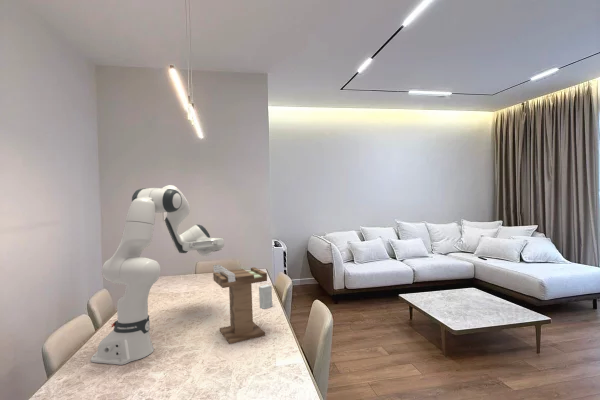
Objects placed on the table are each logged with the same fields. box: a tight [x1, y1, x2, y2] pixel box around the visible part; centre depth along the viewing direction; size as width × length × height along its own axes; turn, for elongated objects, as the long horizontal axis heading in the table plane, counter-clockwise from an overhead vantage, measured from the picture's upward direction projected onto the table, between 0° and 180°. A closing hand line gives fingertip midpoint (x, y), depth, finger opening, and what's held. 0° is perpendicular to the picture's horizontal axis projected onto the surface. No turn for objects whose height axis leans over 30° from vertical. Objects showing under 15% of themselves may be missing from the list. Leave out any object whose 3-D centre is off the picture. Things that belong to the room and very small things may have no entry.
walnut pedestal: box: [212, 266, 268, 345], centre depth 152 cm, size 16×20×28 cm
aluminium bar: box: [212, 264, 235, 282], centre depth 154 cm, size 26×3×3 cm, turn 28°
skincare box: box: [258, 284, 273, 310], centre depth 188 cm, size 6×4×12 cm
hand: (202, 242), depth 163 cm, fingers open, 8 cm apart
